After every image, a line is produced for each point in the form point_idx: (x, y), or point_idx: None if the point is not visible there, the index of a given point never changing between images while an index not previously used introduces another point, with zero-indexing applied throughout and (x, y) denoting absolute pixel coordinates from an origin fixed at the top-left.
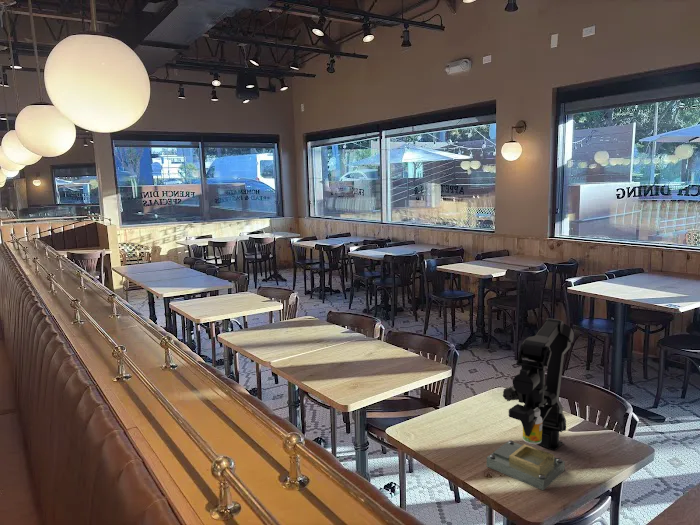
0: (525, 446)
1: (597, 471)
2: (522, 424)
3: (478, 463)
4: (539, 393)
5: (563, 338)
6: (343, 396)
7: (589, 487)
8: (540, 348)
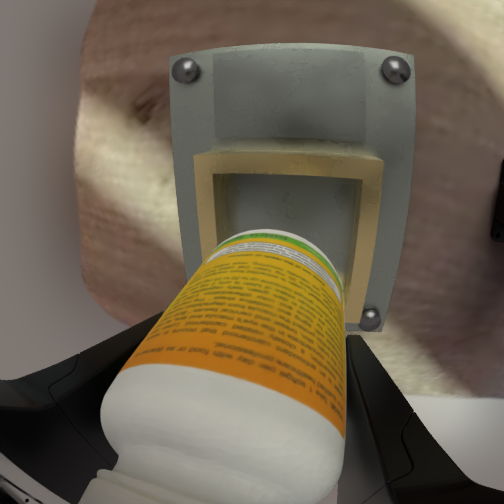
0: (359, 177)
1: (416, 369)
2: (70, 360)
3: (188, 32)
4: None
5: None
6: None
7: None
8: None
